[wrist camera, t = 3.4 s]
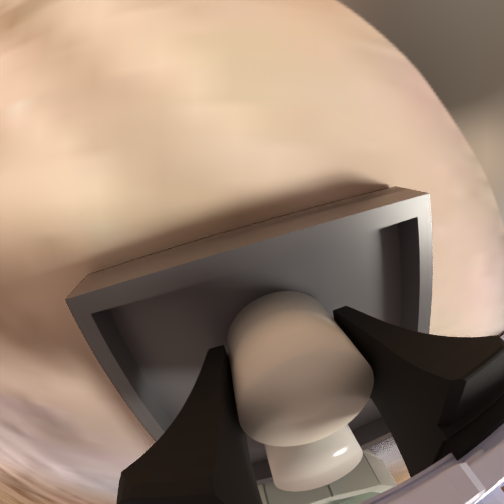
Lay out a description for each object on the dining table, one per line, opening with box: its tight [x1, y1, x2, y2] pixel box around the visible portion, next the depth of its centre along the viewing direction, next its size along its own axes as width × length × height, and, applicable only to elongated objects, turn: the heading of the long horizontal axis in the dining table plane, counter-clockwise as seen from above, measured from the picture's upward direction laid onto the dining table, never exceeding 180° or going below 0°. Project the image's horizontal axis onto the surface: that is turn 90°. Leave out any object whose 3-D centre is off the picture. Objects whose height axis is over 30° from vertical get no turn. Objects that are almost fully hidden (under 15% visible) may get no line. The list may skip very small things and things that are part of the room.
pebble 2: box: [264, 424, 363, 492], centre depth 13 cm, size 4×4×4 cm
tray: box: [65, 187, 433, 485], centre depth 13 cm, size 15×16×2 cm
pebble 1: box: [227, 291, 374, 447], centre depth 10 cm, size 4×4×4 cm
